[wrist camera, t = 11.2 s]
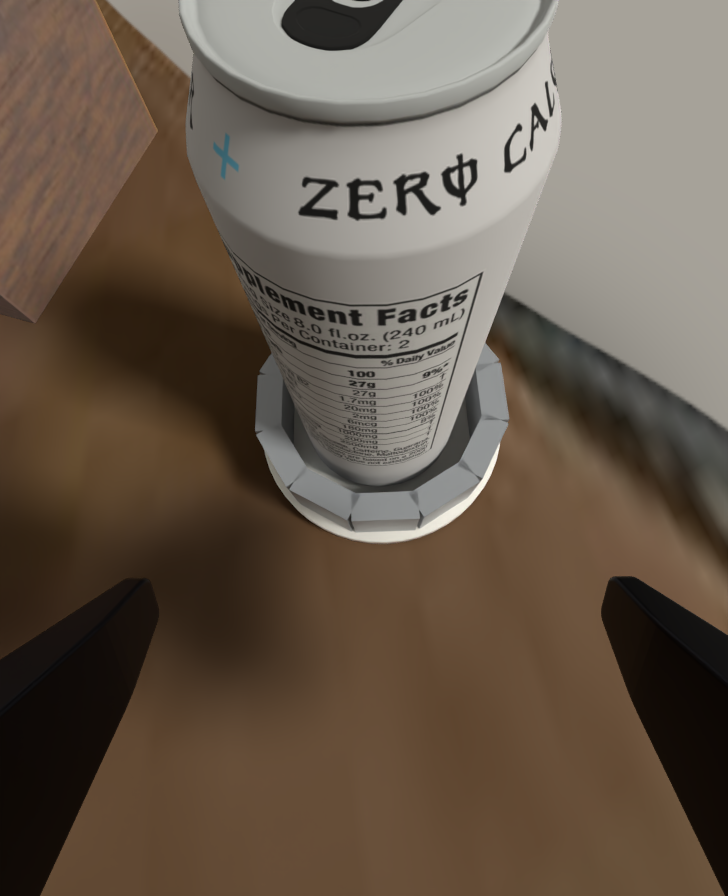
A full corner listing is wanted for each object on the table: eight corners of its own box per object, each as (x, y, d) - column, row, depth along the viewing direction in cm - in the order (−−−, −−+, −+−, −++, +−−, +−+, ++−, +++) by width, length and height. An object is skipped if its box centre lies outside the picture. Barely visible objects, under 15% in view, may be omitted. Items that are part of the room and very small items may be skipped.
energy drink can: (471, 400, 20) (679, -97, 6) (408, 518, 18) (486, 220, 4) (353, 344, 21) (294, -179, 7) (284, 451, 20) (27, 45, 6)
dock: (340, 593, 18) (332, 590, 15) (228, 397, 22) (202, 362, 18) (545, 461, 20) (575, 434, 17) (412, 296, 23) (416, 247, 20)
